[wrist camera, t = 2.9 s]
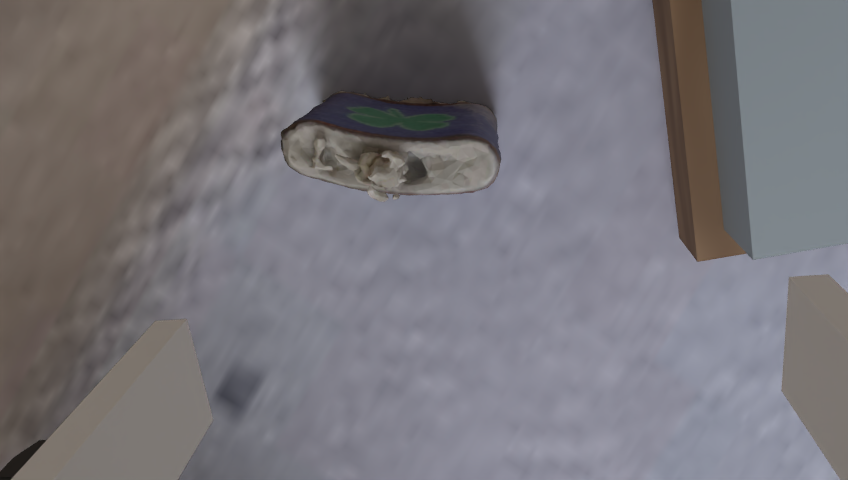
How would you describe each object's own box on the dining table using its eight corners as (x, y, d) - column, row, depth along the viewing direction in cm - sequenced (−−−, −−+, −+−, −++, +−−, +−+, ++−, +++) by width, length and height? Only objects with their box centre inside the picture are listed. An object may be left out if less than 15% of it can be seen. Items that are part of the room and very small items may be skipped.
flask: (499, 102, 37) (505, 151, 27) (492, 158, 38) (496, 224, 28) (321, 85, 38) (262, 127, 28) (319, 141, 39) (262, 200, 29)
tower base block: (677, 234, 40) (697, 261, 36) (646, -35, 35) (666, -36, 31) (954, 185, 38) (1006, 208, 34) (959, -106, 33) (1020, -117, 29)
